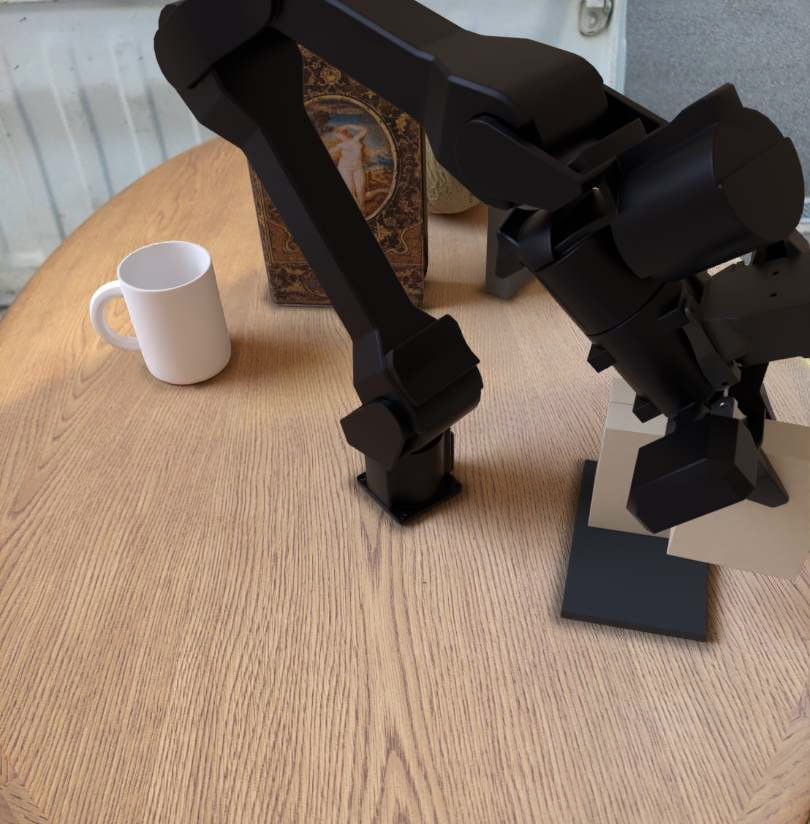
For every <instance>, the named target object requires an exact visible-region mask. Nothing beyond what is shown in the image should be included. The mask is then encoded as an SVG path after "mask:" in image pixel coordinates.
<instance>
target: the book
mask: <svg viewBox="0 0 810 824" xmlns="http://www.w3.org/2000/svg"><path fill="white" fill-rule="evenodd" d="M298 46H299V48H300V50H301V53H302V55H303V59H304V100H305V109H306V111H307V113H308V115H309V117H310V119H311V121H312V123H313V125H314V126H315V128H316V130H317V132H318V134H319V135H320V137H321V139H322V141H323V143H324V144H325V146H326V148H327V150H328V152H329V153H330V155H331V157H332V159H333V161H334V163H335V164H336V166H337V168H338V170H339V172H340V173H341V175H342V177H343V179H344V181H345V182H346V184H347V186H348V188H349V190H350V191H351V193H352V195H353V197H354V199H355V200H356V202H357V204H358V206H359V208H360V210H361V211H362V213H363V215H364V217H365V219H366V220H367V222H368V224H369V226H370V228H371V229H372V231H373V233H374V235H375V237H376V238H377V240H378V242H379V244H380V246H381V247H382V249H383V251H384V253H385V255H386V257H387V258H388V260H389V262H390V264H391V266H392V267H393V269H394V271H395V273H396V275H397V276H398V278H399V280H400V282H401V284H402V285H403V287H404V289H405V291H406V293H407V294H408V296H409V298H410V300H411V301H412V303H413V304H414V305H415V306H417V307H418V308H420V306H422V304H423V302H424V301H423V300H424V296H425V279H426V277H427V276H428V275H427V274H428V268H429V223H428V211H427V174H426V133H425V130H424V128H422V127H421V126H420V125H419V124H418V123H417V122H416V121H415V120H414V119H413V118H411V117H410V116H409V115H407V114H406V113H404V112H403V111H401V110H400V109H398V108H397V107H395V106H393V105H392V104H390V103H389V102H387V101H386V100H384V99H383V98H381V97H380V96H378V95H376V94H375V93H373V92H372V91H370V90H369V89H367V88H366V87H364V86H363V85H361V84H360V83H358V82H356V81H355V80H353V79H352V78H350V77H349V76H347V75H346V74H344V73H343V72H341V71H340V70H338V69H336V68H335V67H333V66H332V65H330V64H329V63H327V62H326V61H324V60H323V59H321V58H320V57H318V56H316V55H315V54H313V53H312V52H310V51H309V50H307V49H306V48H304V47H303V46H301V45H300V44H298ZM245 157H246V156H245ZM246 164H247V169H248V174H249V181H250V187H251V192H252V198H253V203H254V209H255V216H256V221H257V227H258V232H259V238H260V239H259V240H260V244H261V250H262V255H263V261H264V268H265V272H266V278H267V284H268V291H269V294H270V300H271V302H272V303H273V304H275V306H280V307H281V306H286V307H287V306H288V307H289V306H290V307H317V308H318V307H321V308H322V307H323V308H333V306H332V304H331V302H330V301H329V299H328V297H327V296H326V294H325V292H324V290H323V289H322V287H321V285H320V283H319V282H318V280H317V278H316V277H315V275H314V273H313V271H312V270H311V268H310V266H309V264H308V263H307V261H306V259H305V258H304V256H303V254H302V252H301V251H300V249H299V247H298V245H297V244H296V242H295V240H294V239H293V237H292V235H291V233H290V232H289V230H288V228H287V226H286V225H285V223H284V221H283V220H282V218H281V216H280V214H279V213H278V211H277V209H276V208H275V206H274V204H273V202H272V201H271V199H270V197H269V195H268V194H267V192H266V190H265V189H264V187H263V185H262V183H261V182H260V180H259V178H258V176H257V175H256V173H255V171H254V170H253V168H252V166H251V164H250V163H249V161H248V159H247V157H246Z"/></svg>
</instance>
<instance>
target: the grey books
mask: <svg viewBox="0 0 810 824" xmlns="http://www.w3.org/2000/svg"><path fill="white" fill-rule="evenodd" d="M519 208H522V209H539V208H535V207H531V206H527V205H522V206H519ZM511 210H512V209H509V210H508V211H502V210H496V209H494V208H491V207H489V206H487V229H486V255H485V256H486V257H485V282H484V292H485V293H487V294H491V295H494V296H497V297H500V298H502V299H506V300H509V299H510V298H511V297H513V295H515V293H517V292H518V291H519V290H520V289H521V288H522V287H523V286H524V285H525V284H526V283H527V282H529V280H531V279H532V278H533V277H534V276H533V275H532V274H531V273H530V271H529V270H528V269H527V268H526V269H524V270H522V271H520V272H518V273H516V274H514V275H512V276H510V277H508V278H506V279H499V278H498V277H497V276H496V275H495V264H496V258H497V252H498V242H497V237H496V231H497V230H498V229H499V227H500V226H501V224H502V223H503V221H504V220H505V219H506V217H507V216H508V214H509V213H510V212H511ZM706 271H707V272H708V273H709V269H708V270H706Z"/></svg>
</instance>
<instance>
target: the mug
mask: <svg viewBox="0 0 810 824" xmlns="http://www.w3.org/2000/svg"><path fill="white" fill-rule="evenodd" d="M116 277H117V279H116V280H112V281H109V282H106V283H105V284H103V285H101V286H100V287H99V288H98V289H97V290H96V291H95V292H94V294H93V295H92V297H91V300H90V303H89V316H90V317H89V318H90V322H91V324H92V327H93V329H94V330H95V332H96V333H97V335H98V336H99V338H101V339H102V340H103V341H104V342H105V343H106V344H107V345H109V346H111V347H113V348H114V349H116V350H120V351H123V352H128V353H141V354H142V357H143V360H144V363H145V365H146V367H147V369H148V371H149V373H151V375H152V376H153V377H155V378H156V379H157V380H159V381H162V382H163V383H166V384H171V385H180V386H183V385H184V386H185V385H194V384H198V383H202V382H204V381H207V380H210V379H211V378H213V377H215V376H216V375H218V374H219V373H220V372H222V371H223V369H225V367H226V366H228V363H229V361H230V359H231V356H232V344H231V339H230V338H231V337H230V335H229V330H228V325H227V321H226V317H225V312H224V307H223V303H222V298H221V295H220V294H221V293H220V290H219V285H218V281H217V277H216V273H215V268H214V264H213V259H212V256H211V254H210V252H209V251H208V250H207V249H206V248H205V247H203V246H201V245H199V244H198V243H195V242H191V241H185V240H167V241H166V240H165V241H158V242H155V243H150V244H147V245H144V246H142V247H139V248H138V249H135V250H134V251H132V252H130V253H129V254H127V255H126V256H125V257H124V258H122V260H121V261H120V262H119V264H118V266H117V269H116ZM122 298H124V301H125V305H126V307H127V310H128V311H127V312H128V314H129V317H130V321H131V323H132V324H131V325H132V327H133V330H134V333H135V336H125V335H122V334H119V333H117V332H116V331H115V330H113V328H112V327H111V326H110V324H109V322H108V320H107V318H106V308H107V305H108V304H109V303H110V302H111V301H113V300H117V299H122Z"/></svg>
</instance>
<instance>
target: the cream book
mask: <svg viewBox="0 0 810 824" xmlns="http://www.w3.org/2000/svg"><path fill="white" fill-rule="evenodd" d="M744 416H745V417H746V415H744ZM761 447H762V449H763V451H764V453H765V454H766V456H767V458H768V459H769V461H770V463H771V464H772V466H773V468H774V470H775V471H776V473H777V475H778V476H779V478H780V480H781V482H782V484H783V486H784V488H785V490H786V492H787V494H788V496H789V502H788V503H786V504H784V505H781V506H778V507H775V508H771V507H768V506H765V505H762V504H759V503H756V502H753V501H750V500H747V499H745V500H744V501H741V502H739V503H736V504H733V505H731V506H728V507H725V508H723V509H720V510H717V511H715V512H712V513H709V514H707V515H704V516H701V517H699V518H696V519H693V520H691V521H688V522H685V523H683V524H680V525H677V526H675V527H672V528H671V531H670V537H669V543H668V550H667V554H668V555H673V556H678V557H683V558H687V559H692V560H697V561H702V562H706V563H708V564H712V565H716V566H722V567H725V568H730V569H734V570H740V571H745V572H750V573H755V574H759V575H764V576H768V577H773V578H779V579H782V580H787V581H792V582H795V581H796V579H797V578H798V575H799V574H800V571H801V569H802V567H803V565H804V563H805V561H806V560H807V558H808V555H809V553H810V426H809V425H802V424H797V423H792V422H787V421H786V422H785V421H779V420H777V421H775V420H769V419H765V426H764V439H763V444H762V446H761Z"/></svg>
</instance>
